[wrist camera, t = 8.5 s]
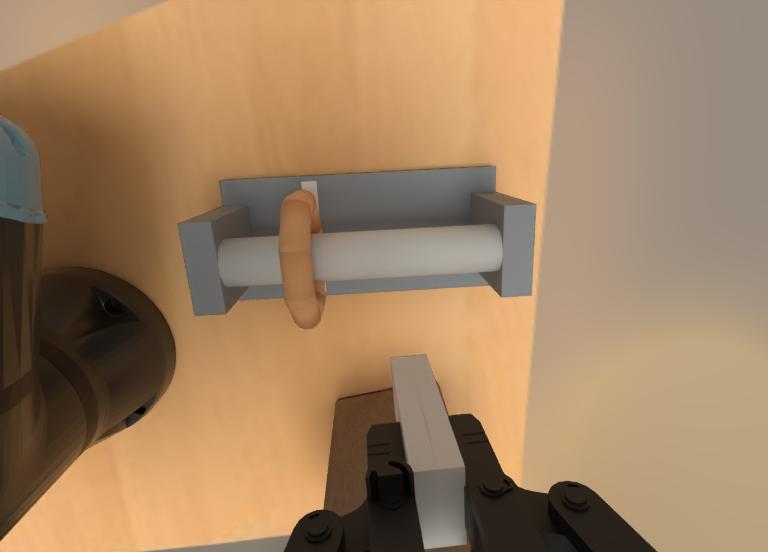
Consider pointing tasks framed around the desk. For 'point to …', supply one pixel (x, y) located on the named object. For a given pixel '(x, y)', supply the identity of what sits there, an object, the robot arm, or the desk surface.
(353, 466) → the wooden block
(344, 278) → the pipe stand
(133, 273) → the desk surface
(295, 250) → the o-ring
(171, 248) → the desk surface
